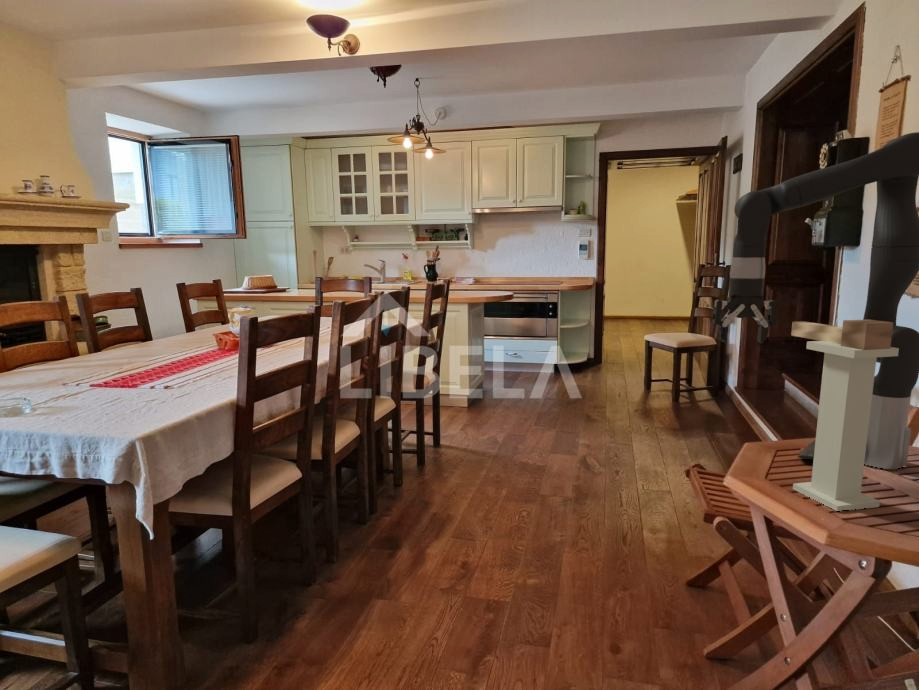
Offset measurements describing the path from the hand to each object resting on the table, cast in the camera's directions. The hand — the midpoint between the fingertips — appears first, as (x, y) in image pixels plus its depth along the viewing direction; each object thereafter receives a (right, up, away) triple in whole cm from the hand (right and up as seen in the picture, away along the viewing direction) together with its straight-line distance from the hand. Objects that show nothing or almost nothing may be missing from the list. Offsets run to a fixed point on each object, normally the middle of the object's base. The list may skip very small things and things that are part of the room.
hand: (742, 342), depth 138 cm
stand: (+7, -32, -23) cm, 40 cm away
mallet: (+6, 0, -25) cm, 25 cm away
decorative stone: (+19, -29, -1) cm, 35 cm away
